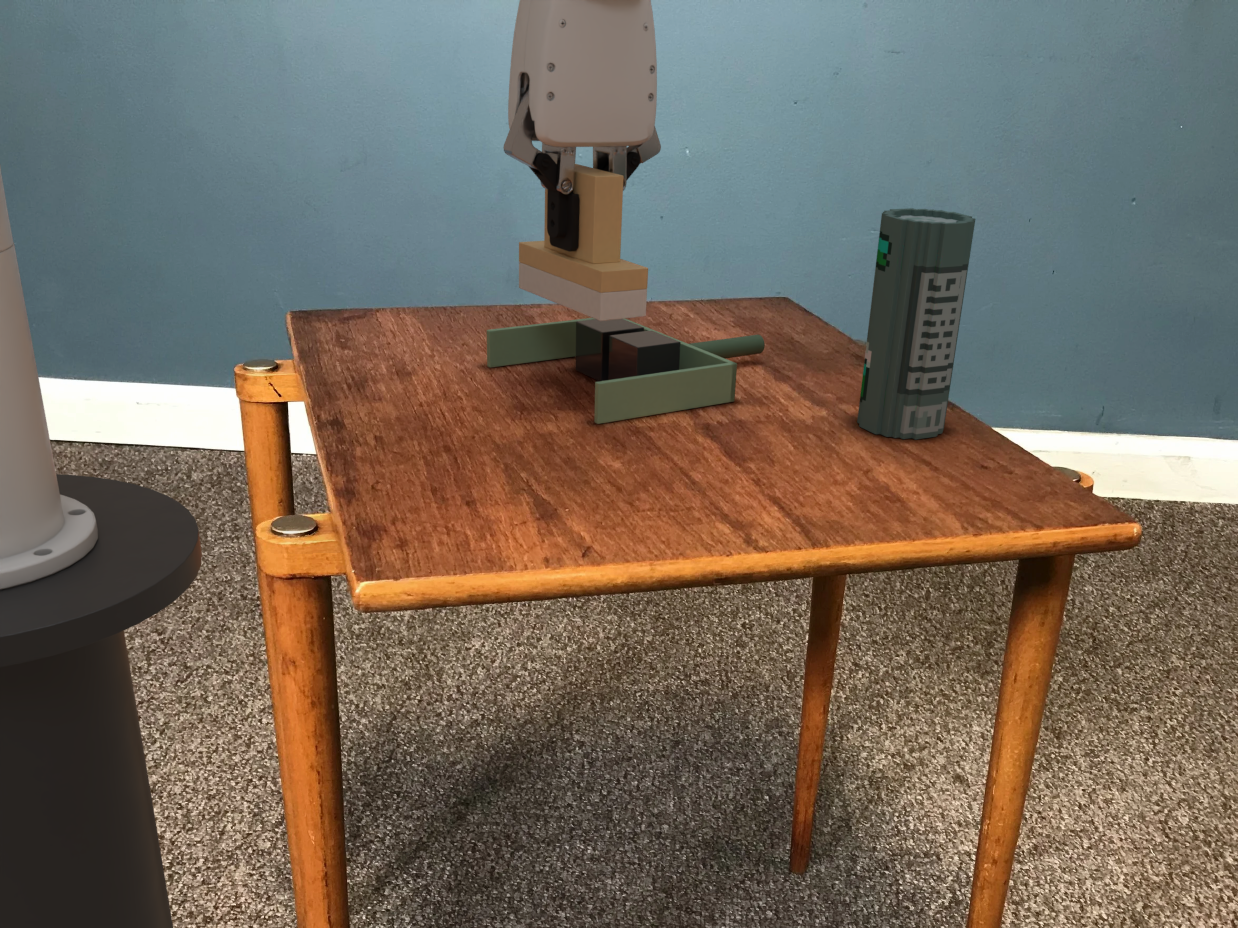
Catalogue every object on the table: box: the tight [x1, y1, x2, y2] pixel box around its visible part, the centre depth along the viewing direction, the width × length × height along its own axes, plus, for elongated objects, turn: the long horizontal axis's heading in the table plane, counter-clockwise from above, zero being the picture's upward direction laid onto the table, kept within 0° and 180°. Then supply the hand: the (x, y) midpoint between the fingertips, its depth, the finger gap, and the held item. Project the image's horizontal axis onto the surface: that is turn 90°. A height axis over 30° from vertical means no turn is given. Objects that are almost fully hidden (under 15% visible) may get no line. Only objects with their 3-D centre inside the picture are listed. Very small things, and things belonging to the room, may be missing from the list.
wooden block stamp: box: [518, 163, 649, 321], centre depth 97 cm, size 4×12×10 cm, turn 35°
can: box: [856, 207, 976, 440], centre depth 93 cm, size 6×6×15 cm
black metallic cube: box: [574, 319, 644, 382], centre depth 105 cm, size 4×4×4 cm
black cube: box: [608, 329, 680, 380], centre depth 101 cm, size 4×4×4 cm
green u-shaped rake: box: [486, 317, 766, 425], centre depth 105 cm, size 22×17×3 cm
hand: (581, 244), depth 97 cm, fingers closed on wooden block stamp, 2 cm apart
